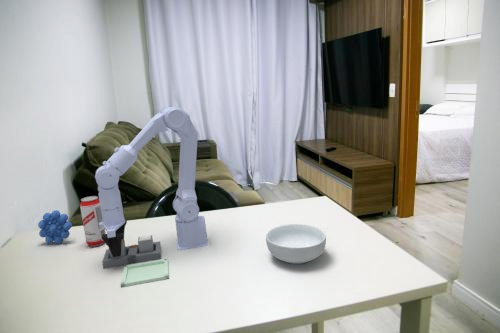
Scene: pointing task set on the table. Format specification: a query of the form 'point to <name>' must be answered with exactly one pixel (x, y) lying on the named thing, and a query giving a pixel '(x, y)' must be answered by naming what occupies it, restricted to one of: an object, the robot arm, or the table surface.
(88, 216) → the beer can
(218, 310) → the table surface
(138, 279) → the tray
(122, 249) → the plug
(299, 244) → the cereal bowl
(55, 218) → the blue lumpy cluster
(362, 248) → the table surface
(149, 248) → the twin plug
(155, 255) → the grey double window frame
